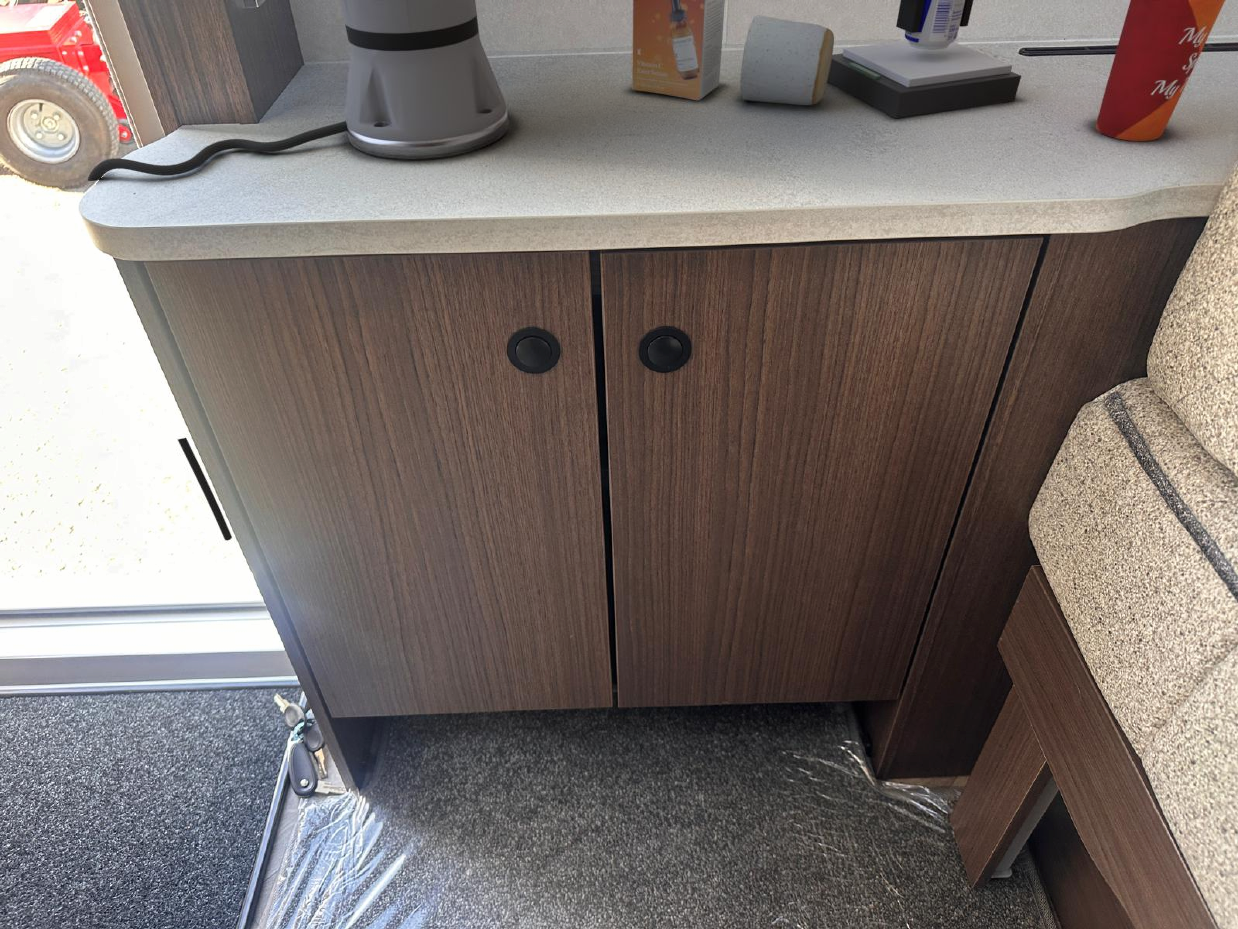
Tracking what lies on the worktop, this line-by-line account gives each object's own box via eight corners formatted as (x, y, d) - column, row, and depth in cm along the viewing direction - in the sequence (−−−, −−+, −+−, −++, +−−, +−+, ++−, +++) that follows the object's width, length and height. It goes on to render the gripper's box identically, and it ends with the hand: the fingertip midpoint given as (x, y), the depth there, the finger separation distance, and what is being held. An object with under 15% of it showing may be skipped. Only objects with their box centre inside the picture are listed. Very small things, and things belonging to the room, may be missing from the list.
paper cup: (1170, 150, 73) (1244, -32, 64) (1076, 136, 77) (1134, -40, 67) (1179, 124, 78) (1249, -49, 69) (1090, 111, 82) (1147, -56, 72)
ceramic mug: (818, 116, 82) (830, 29, 77) (736, 109, 84) (742, 24, 79) (831, 86, 90) (842, 5, 85) (755, 80, 92) (762, 1, 87)
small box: (631, 91, 89) (630, -21, 82) (653, 77, 93) (654, -32, 86) (700, 101, 86) (705, -15, 79) (720, 86, 90) (727, -26, 83)
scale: (895, 118, 81) (902, 83, 79) (822, 78, 91) (826, 47, 89) (1014, 100, 84) (1024, 66, 82) (931, 64, 95) (937, 33, 92)
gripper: (928, -284, 64) (874, 45, 79) (1116, -288, 68) (1031, 25, 84) (874, -281, 69) (833, 27, 85) (1052, -284, 74) (982, 9, 89)
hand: (931, 25), depth 84 cm, fingers closed on beverage can, 5 cm apart
